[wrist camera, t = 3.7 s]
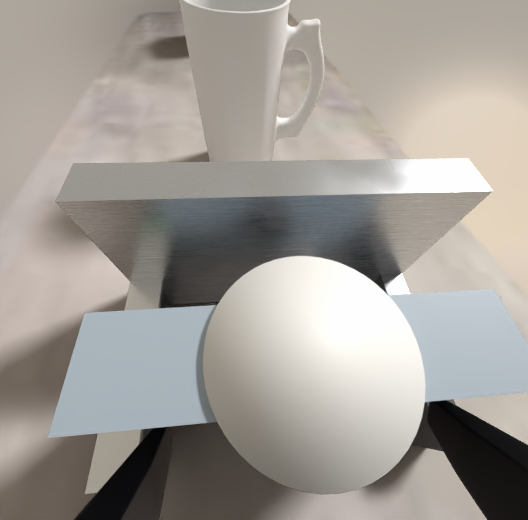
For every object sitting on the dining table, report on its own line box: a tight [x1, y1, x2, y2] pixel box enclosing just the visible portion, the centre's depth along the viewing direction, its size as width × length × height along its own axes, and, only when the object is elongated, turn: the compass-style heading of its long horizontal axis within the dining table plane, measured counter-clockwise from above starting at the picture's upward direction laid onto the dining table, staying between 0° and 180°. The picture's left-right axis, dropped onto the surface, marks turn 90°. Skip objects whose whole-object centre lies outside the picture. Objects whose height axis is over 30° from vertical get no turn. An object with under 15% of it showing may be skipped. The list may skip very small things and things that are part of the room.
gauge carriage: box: [48, 256, 528, 494], centre depth 11 cm, size 6×15×9 cm, turn 95°
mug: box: [179, 0, 324, 162], centre depth 20 cm, size 10×7×12 cm, turn 95°
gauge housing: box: [55, 158, 492, 494], centre depth 12 cm, size 11×17×10 cm, turn 95°
